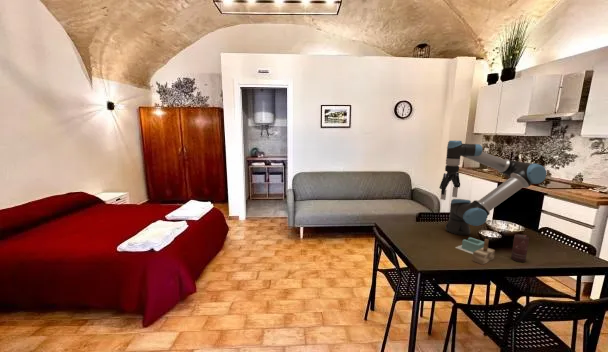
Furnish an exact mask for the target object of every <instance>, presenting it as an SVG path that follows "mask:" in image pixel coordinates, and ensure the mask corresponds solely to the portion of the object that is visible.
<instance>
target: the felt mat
mask: <svg viewBox="0 0 608 352" xmlns="http://www.w3.org/2000/svg"><path fill="white" fill-rule="evenodd" d="M454 248H455V249H456V250H459V251H461V252H465V253H468V254H470V255H473V252H471V251H468V250H465V249H463V248H462V244H461V245H457V246H455V247H454Z"/></svg>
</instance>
